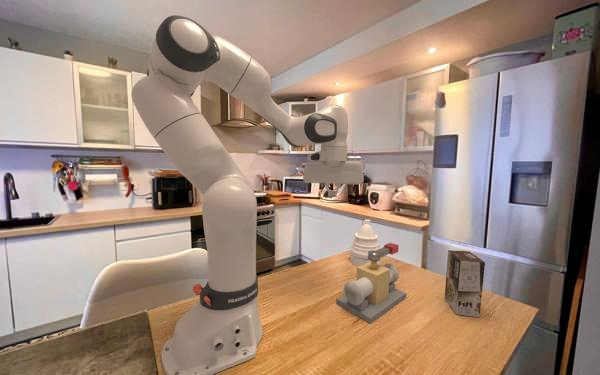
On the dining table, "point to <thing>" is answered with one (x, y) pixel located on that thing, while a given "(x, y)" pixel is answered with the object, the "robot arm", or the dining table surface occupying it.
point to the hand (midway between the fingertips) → (332, 196)
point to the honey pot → (364, 245)
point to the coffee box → (464, 282)
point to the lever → (383, 252)
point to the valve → (371, 291)
